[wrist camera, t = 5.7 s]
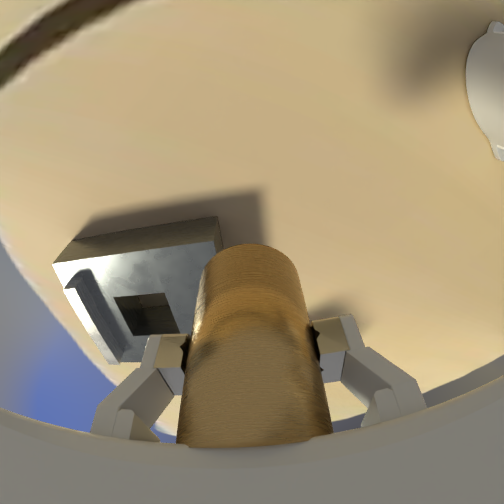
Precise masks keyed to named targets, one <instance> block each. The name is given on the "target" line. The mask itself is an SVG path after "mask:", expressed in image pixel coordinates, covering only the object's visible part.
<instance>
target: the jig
mask: <svg viewBox="0 0 504 504" xmlns="http://www.w3.org/2000/svg"><path fill="white" fill-rule="evenodd" d="M222 250H224V249H223V244H222V239H221V234H220V229H219V224H218V219H217V216H216V217H209V218H202V219H196V220H189V221H182V222H176V223H170V224H163V225H157V226H151V227H145V228H139V229H133V230H127V231H121V232H116V233H110V234H105V235H99V236H94V237H88V238H83V239H78V240H73V241H71V242H70V243H69V244H68V245H67V247H66V248H65V249H64V250H63V251H62V253H61V254H60V255H59V256H58V258H57V259H56V260H55V261H54V263H53V264H52V265H53V267H54V269H55V271H56V273H57V275H58V277H59V279H60V281H61V283H62V285H63V287H64V289H63V290H64V292H65V294H66V296H67V298H68V299H69V301H70V303H71V305H72V307H73V308H74V310H75V312H76V314H77V315H78V317H79V319H80V320H81V322H82V324H83V325H84V327H85V329H86V330H87V332H88V333H89V335H90V337H91V338H92V340H93V341H94V343H95V344H96V346H97V347H98V349H99V350H100V352H101V353H102V355H103V356H104V358H105V359H106V361H107V362H108V363H109V364H113V365H120V362H142V359H143V355H144V351H145V348H146V344H147V341H148V338H149V336H150V335H159V334H190V336H191V331H192V325H193V319H194V313H195V307H196V302H197V296H198V290H199V285H200V279H201V275H202V272H203V270H204V267H205V266H206V264H207V263H208V262H209V260H210V259H211V258H212V257H214V256H215V255H216V254H217V253H219V252H221V251H222ZM154 293H165V295H166V298H167V301H168V303H169V306H160V307H147V308H142V306H141V304H140V301H139V299H138V297H137V295H144V294H154Z"/></svg>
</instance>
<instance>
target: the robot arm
mask: <svg viewBox="0 0 504 504" xmlns="http://www.w3.org/2000/svg"><path fill="white" fill-rule="evenodd" d="M466 87H467V94H468V99H469V103H470V107H471V110H472V113H473V115H474V118H475V120H476V122H477V124H478V125H479V127H480V129H481V130H482V131H483V133H484V134H485V135H486V136H487V138H488V139H489V141H490V143H491V147H492V150H493V153H494V156H495V158H496V159H498V160H500V161H504V25H503V24H502V23H500V22H497V21H492V22H491V23H490V25H489V28H488V30H487V33H486V34H485V35H483V36H482V37H480V38H479V39H477V40H476V41H475V43H474V44H473V45H472V47H471V49H470V52H469V55H468V58H467V64H466ZM311 330H312V334H313V338H314V343H315V347H316V352H317V356H318V361H319V365H320V369H321V374H322V379H323V383H329V382H336V381H341V383H342V384H343V385H344V386H345V387H346V388H347V389H348V390H349V391H351V392H352V393H353V394H354V395H355V396H356V397H357V398H358V399H359V400H360V401H361V402H362V403H363V404H364V405H365V406H366V407H367V408H368V410H367V412H366V414H365V417H364V419H363V421H362V423H361V428H357V429H352V430H348V431H343V432H338V433H332V434H327V435H321V436H315V437H313V438H311V439H310V440H309V441H305V442H297V443H289V444H280V445H270V446H257V447H238V448H189V447H188V446H187V445H185V444H173V443H160V440H159V438H158V437H157V436H156V435H155V434H154V433H153V432H152V431H151V430H150V428H151V427H152V425H153V424H154V423H155V421H156V420H157V419H158V417H159V416H160V415H161V413H162V412H163V411H164V409H165V408H166V407H167V406H168V404H169V403H170V402H171V400H172V399H173V398H174V395H182V391H183V383H184V376H185V370H186V363H187V356H188V350H189V343H190V337H191V336H190V334H159V335H150V336H149V338H148V341H147V344H146V348H145V351H144V355H143V359H142V362H141V366H140V368H136V369H135V370H134V371H133V372H132V373H131V374H130V375H129V376H128V377H127V378H126V379H125V380H124V381H123V382H122V383H121V384H120V385H118V386H117V387H116V388H115V389H114V391H112V392H111V393H110V394H109V395H108V396H107V397H106V398H105V399H104V400H103V401H102V402H101V403H100V404H99V405H98V406H97V410H96V413H95V417H94V420H93V423H92V427H91V431H90V433H87V432H82V431H77V430H73V429H68V428H64V427H60V426H56V425H52V424H49V423H45V422H41V421H38V420H35V419H32V418H28V417H25V416H22V415H19V414H16V413H13V412H11V411H8V410H5V409H2V408H0V504H504V375H503V376H501V377H499V378H497V379H495V380H493V381H491V382H489V383H487V384H485V385H483V386H481V387H479V388H477V389H475V390H472V391H470V392H468V393H466V394H463V395H461V396H458V397H456V398H454V399H451V400H449V401H446V402H443V403H441V404H438V405H436V406H433V407H430V408H427V406H426V404H425V401H424V399H423V396H422V394H421V391H420V389H419V386H418V384H417V381H416V379H414V378H413V377H411V376H410V375H409V374H407V373H406V372H404V371H403V370H401V369H400V368H399V367H397V366H396V365H394V364H393V363H391V362H390V361H389V360H387V359H386V358H384V357H383V356H382V355H380V354H379V353H377V352H376V351H374V350H373V349H372V348H370V347H365V345H364V343H363V340H362V337H361V335H360V332H359V329H358V327H357V324H356V322H355V319H354V317H353V315H352V314H350V315H344V316H338V317H332V318H326V319H319V320H313V321H311Z"/></svg>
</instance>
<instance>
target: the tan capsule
mask: <svg viewBox="0 0 504 504" xmlns="http://www.w3.org/2000/svg"><path fill="white" fill-rule="evenodd" d="M332 433H333V427H332V422H331V417H330V412H329V407H328V402H327V398H326V393H325V388H324V383H323V379H322V374H321V369H320V365H319V361H318V356H317V352H316V347H315V343H314V338H313V334H312V330H311V325H310V321H309V317H308V313H307V309H306V304H305V300H304V296H303V292H302V288H301V284H300V280H299V276H298V273H297V270H296V268H295V266H294V264H293V263H292V261H291V260H290V259H289V258H288V257H287V256H286V255H284V254H283V253H282V252H280V251H278V250H276V249H274V248H272V247H269V246H265V245H260V244H241V245H235V246H232V247H229V248H227V249H224V250H222V251H221V252H219V253H217V254H216V255H215V256H214V257H212V258H211V259H210V260H209V262H208V263H207V264H206V266H205V267H204V270H203V272H202V275H201V279H200V285H199V290H198V296H197V302H196V307H195V313H194V319H193V325H192V331H191V337H190V343H189V350H188V356H187V363H186V370H185V376H184V383H183V391H182V398H181V406H180V413H179V421H178V429H177V438H176V444H185V445H187V446H188V447H189V448H238V447H257V446H270V445H280V444H289V443H297V442H305V441H309V440H310V439H311V438H313V437H315V436H321V435H327V434H332Z"/></svg>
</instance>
